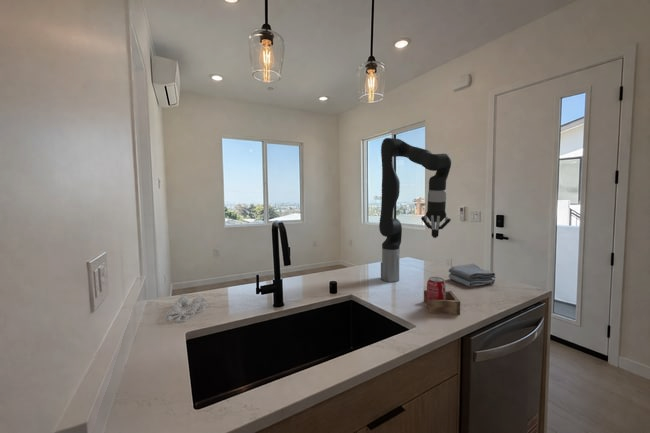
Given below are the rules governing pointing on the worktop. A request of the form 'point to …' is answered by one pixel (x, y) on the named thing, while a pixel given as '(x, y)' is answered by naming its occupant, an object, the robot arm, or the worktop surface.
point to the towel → (471, 275)
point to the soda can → (436, 289)
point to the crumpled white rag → (180, 312)
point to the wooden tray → (444, 304)
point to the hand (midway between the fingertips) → (434, 237)
